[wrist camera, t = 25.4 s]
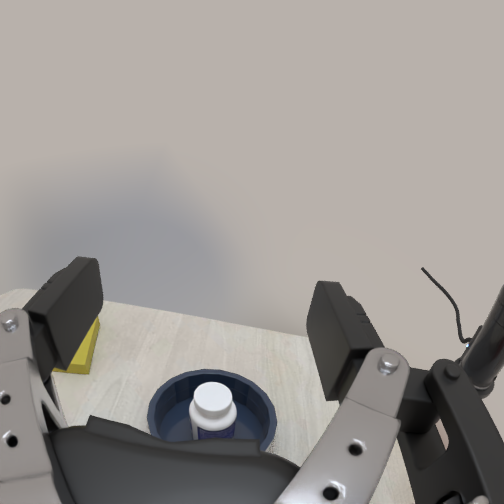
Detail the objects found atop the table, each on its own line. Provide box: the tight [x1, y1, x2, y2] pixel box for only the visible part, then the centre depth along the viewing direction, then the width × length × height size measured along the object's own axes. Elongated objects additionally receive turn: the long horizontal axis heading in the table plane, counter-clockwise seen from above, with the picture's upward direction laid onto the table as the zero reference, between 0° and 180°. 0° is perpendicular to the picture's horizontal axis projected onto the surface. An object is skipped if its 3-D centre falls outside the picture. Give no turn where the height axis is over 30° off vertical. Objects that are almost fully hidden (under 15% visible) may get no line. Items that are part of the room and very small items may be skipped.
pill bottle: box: [189, 382, 237, 440], centre depth 29 cm, size 5×5×9 cm
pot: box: [147, 369, 277, 452], centre depth 30 cm, size 15×15×6 cm
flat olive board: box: [52, 316, 100, 374], centre depth 38 cm, size 12×2×24 cm
